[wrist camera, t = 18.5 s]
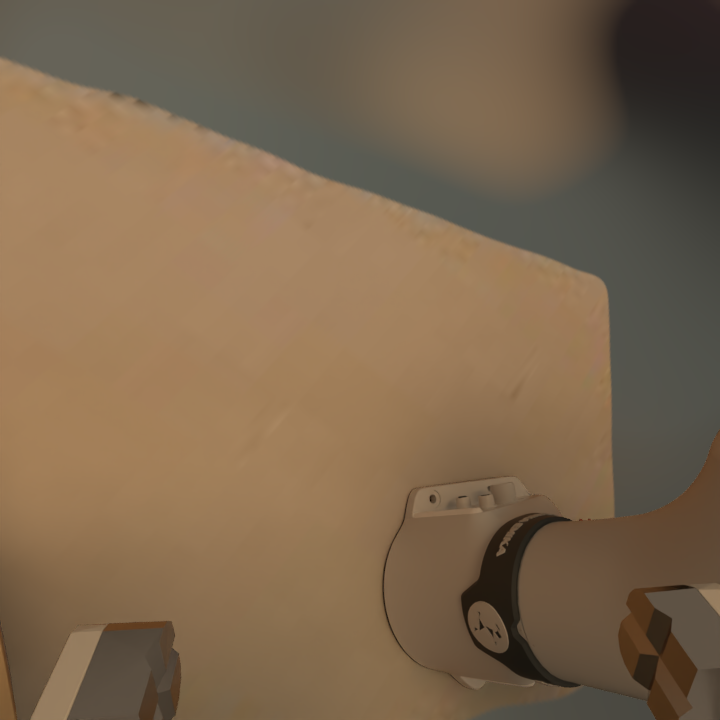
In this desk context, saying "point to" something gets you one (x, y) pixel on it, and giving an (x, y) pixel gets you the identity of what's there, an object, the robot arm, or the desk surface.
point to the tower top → (5, 688)
